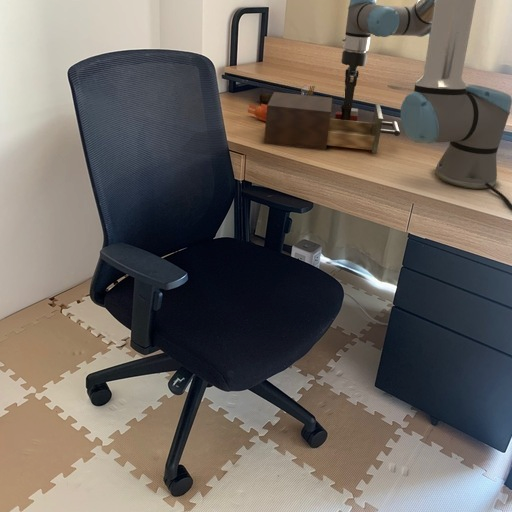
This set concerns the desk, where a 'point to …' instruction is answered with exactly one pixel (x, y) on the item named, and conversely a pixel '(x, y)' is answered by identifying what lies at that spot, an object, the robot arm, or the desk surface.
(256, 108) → the orange toy bird
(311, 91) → the utensil holder
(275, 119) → the cabinet
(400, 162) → the desk surface
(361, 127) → the drawer
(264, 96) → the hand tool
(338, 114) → the red base white blocks
